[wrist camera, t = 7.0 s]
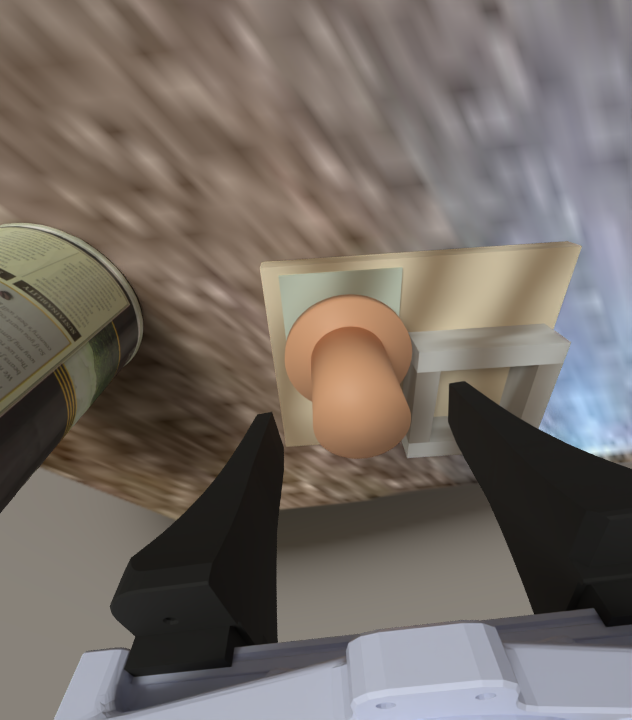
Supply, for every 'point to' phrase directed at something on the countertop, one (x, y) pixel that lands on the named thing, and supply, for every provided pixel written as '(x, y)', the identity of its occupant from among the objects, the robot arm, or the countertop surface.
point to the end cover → (352, 373)
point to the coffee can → (55, 341)
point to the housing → (439, 327)
